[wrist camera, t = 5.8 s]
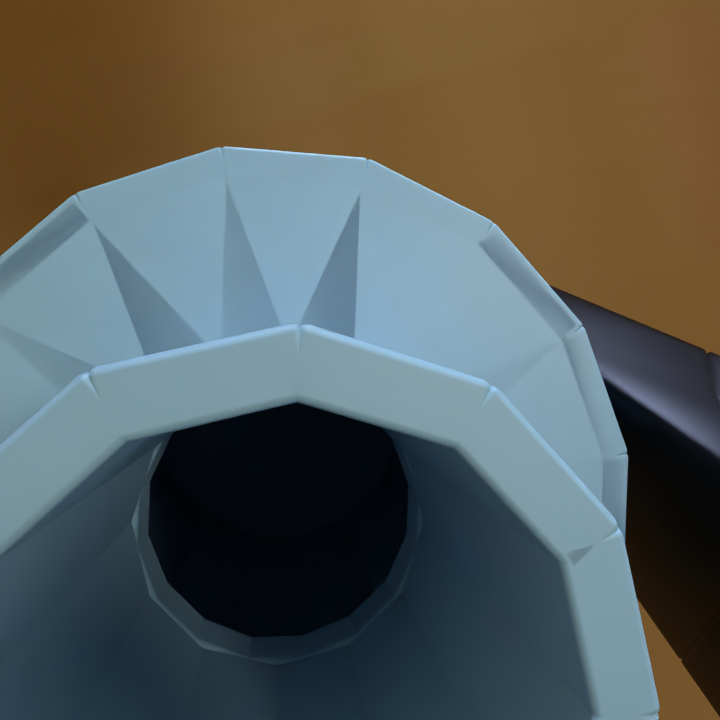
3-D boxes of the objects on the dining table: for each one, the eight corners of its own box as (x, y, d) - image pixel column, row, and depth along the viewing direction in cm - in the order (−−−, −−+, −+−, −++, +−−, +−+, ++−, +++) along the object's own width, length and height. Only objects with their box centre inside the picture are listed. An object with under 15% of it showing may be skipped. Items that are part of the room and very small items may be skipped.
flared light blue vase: (456, 418, 16) (1244, 690, 3) (273, 595, 15) (240, 1928, 2) (287, 232, 15) (328, -466, 2) (89, 409, 15) (-1335, 800, 2)
